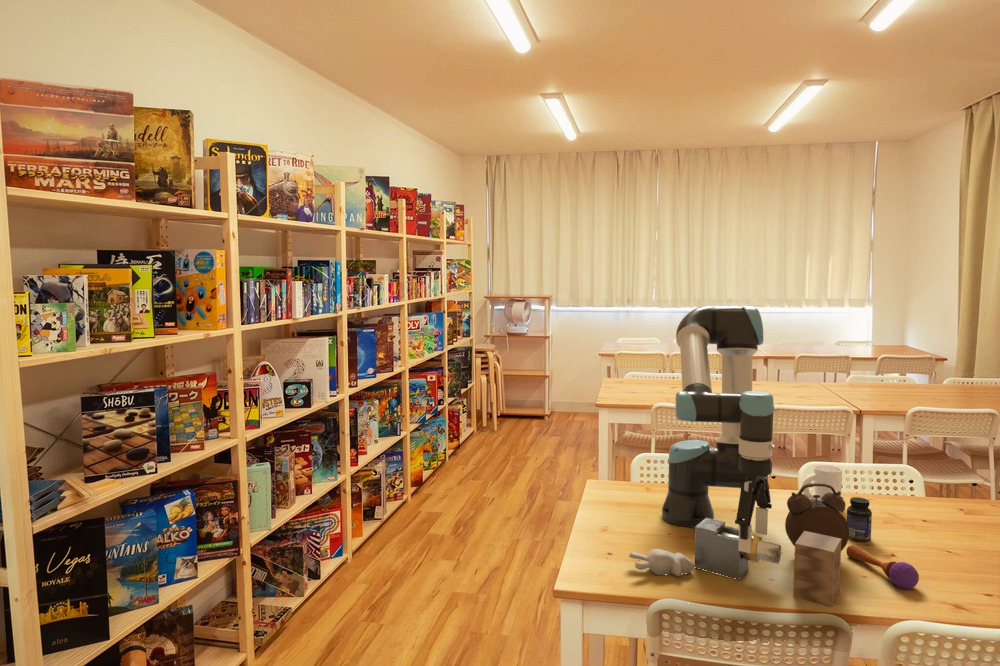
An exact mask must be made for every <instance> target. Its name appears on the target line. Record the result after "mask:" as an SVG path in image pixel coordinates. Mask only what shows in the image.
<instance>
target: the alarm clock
mask: <svg viewBox="0 0 1000 666" xmlns="http://www.w3.org/2000/svg"><path fill="white" fill-rule="evenodd" d="M813 486H823V487H828V488H831V490H832V491H833V493H826V494H824V495H823V496H822V498H821V500H822V501H821V500H817V498H820V495H813V497H814V498H816V499H809V498H808V497H807V496H806V495H804V493H803V491H804V489H805V488H808V487H809V488H811V487H812V488H813ZM840 495H841V496H840ZM844 499H845V498H844V497H843V496H842V491H841V492H840V491H838V492H837V493H836V491H835V490H834V488H833V487H832V486H830V485H827V484H821V483H812V482H811V483H810V484H807V485H804V486H802V485H801V488H800V489H799V491H798V492H797V493H795V492H791V495H790V496H789V498H787V501H786V505H787V508H788V511H789V512H788V513H787V515H786V517H785V521H784V523H785V524H784V526H785V527H784V529H785V533H786V536H787V537H788V539H789V540H790V543H791V544H792V545H793V547H795V543H796V541H797V540H798V539H799V537H800V536H801V535H802V533H803V532H804V531H807V532H812V533H817V534H822V535H826V536H831V537H836V538H841V552H842V551H843V550H844V549H845V547H846V545H847V544H848V541H849V540H850V539H849V527H848V523H847V518H845V517H844V515H843V513H844V511H845V510H846V504H847V503H846V501H845V500H844ZM794 556H795V553H794Z"/></svg>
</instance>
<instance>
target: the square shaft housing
mask: <svg viewBox="0 0 1000 666" xmlns="http://www.w3.org/2000/svg"><path fill="white" fill-rule="evenodd" d="M719 531H721V532H725V533H729V534H734V535H738V536H739V528H737V527H733V526H732V527H731V526H728V525H726V522H725V521H723V520H719V519H715V518H714V519H709V518H705V519H704V520H703V521H702V522H700V523H699V524H698V525H697V526H696V527H694V567H696V568H700V569H704V570H707V571H710V572H714V573H718V574H721V575H724V576H728V577H731V578H730V579H732V578H736V579H739V578H740V577H741V576H742V575H743V574H744V573H745V574H746V572H747V571H748V570H749V560H745V559H744V558H743V555H741V551H738V546H739V539H737V538H733V537H728V536H724V535H720V534H717V533H718V532H719ZM747 569H748V570H747ZM710 572H709V573H710ZM745 574H744V575H745ZM721 575H720V576H721ZM744 575H743V576H744ZM724 576H723V577H724ZM743 576H742V577H743ZM728 577H727V578H728ZM742 577H741V578H742ZM741 578H740V579H741ZM736 579H735V580H736Z"/></svg>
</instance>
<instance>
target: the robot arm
mask: <svg viewBox="0 0 1000 666" xmlns="http://www.w3.org/2000/svg"><path fill="white" fill-rule="evenodd" d="M675 333H676V334H675V338H676V344H677V346H678V348H679V349H680V350H679V351H680V353H679V354H680V367H681V368H680V370H681V388H682V389H681V390H682V391H677V392H676V394H675V404H674V405H675V417H676V419H677V420H678V421H683V422H684V421H686V422H694V423H696V422H697V423H698V422H699V423H721V436H720V437H719V438H717V440H716V445H715V446H711V445H710V443H709V442H708V441H707V440H703V439H702V440H700V439H688V440H681V441H678V442H675V443H673V444H672V445H671V446H670V447H669V449H668V450H669V453H668V459H667V462H668V480H667V481H668V482H667V483H668V484H667V485H668V486H667V488H668V489H667V494H666V496H665V500H664V503H663V505H662V509H661V517H662V519H663V518H664V519H665V520H664V519H663V520H664V521H666V522H667V521H668V523H669V522H670V523H669V524H672V523H673V525H675V524H676V525H675V526H678V527H685V526H686V528H695V527H696V526H697V525H698V524H699V523H700V522H702V521H703V520H704V519H705V518H709V519H714V520H715V513H714V509H713V507H712V503H711V499H710V496H709V487H717V488H730V489H731V488H734V489H740V494H739V500H738V506H737V513H736V518H735V520H734V524H736V525H738V529H739V546H738V551H742V552H746V553H751V537H752V535H753V532H752V531H753V529H752V528H753V525H752V524H751V523H752V519H753V513H754V510H755V526H754V529H755V530H754V531H755V532H754V533H755V534H758V535H762V536H768V519H769V518H768V517H769V515H768V513H769V509H772V507H773V505H772V504H771V501H772V500H771V494H770V485H769V476H770V475H771V474H772V473H773V472H772V471H773V459H772V456H773V450H774V449H775V448H776V446H775V444H773V433H774V431H773V430H774V412H775V405H774V396H773V395H772V394H771V393H770V392H766V391H759V390H753V356H754V355H755V354H756V353H757V352H758V346H760V345H761V346H762V345H763V344H764V325H763V319H762V316H761V313H760V311H759V309H758V308H757V307H755V306H750V305H749V306H748V305H703V306H698V307H697V308H694V309H693V310H691V311H690V312H688V313H687V314H686V315H685V316H684V317H683V318H682V319H681V320H680V322H679V324H678V326H677V328H676V332H675ZM708 345H716V351H717V352H718V353H719V354H720V355H721V359H722V360H721V392H713V389H712V381H711V380H712V379H711V371H710V361H709V351H708ZM755 504H756V505H757V506H755ZM754 508H755V509H754Z"/></svg>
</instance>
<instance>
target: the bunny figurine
mask: <svg viewBox="0 0 1000 666" xmlns="http://www.w3.org/2000/svg"><path fill="white" fill-rule="evenodd" d="M629 558H630V559H634V560H635V559H636V560H640V561H635V563H634V565H635V566H634V567H635V569H637V570H642V571H643V570H646V569H649V570H650V571H651V572H652V573H653V574H654V573H655V574H657V575H656V576H663V575H664V576H666V575H665V574H669V575H674V576H676V577H680V576H682V575H681V574H682V573H683V574H685V573H688V574H690V572H694V571H695V568H694V566H695V563H693V562H692V560H691V559H690V558H688V557H686V556H685V555H684V554H682V553H681V552H676V553H673V552H671V551H667V550H665V549H660V548H653V549H651V550H650V552H649V553H648V554H647V555H645V554H641V553H638V552H635V551H630V553H629ZM655 574H654V575H655Z"/></svg>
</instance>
